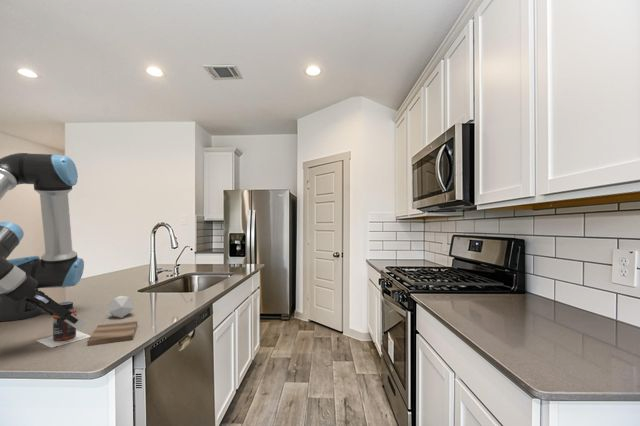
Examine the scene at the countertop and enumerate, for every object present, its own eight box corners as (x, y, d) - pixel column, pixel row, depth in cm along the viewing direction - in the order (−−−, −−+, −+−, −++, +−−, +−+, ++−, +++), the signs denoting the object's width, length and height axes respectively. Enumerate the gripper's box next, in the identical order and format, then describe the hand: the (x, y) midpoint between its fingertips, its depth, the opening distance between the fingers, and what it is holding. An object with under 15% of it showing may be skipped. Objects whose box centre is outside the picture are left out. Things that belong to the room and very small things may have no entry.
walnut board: (98, 329, 113) (98, 325, 113) (137, 325, 118) (137, 320, 118) (87, 345, 99) (87, 340, 99) (132, 339, 104) (132, 335, 104)
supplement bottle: (79, 334, 108) (80, 300, 108) (70, 340, 102) (71, 304, 102) (59, 335, 107) (60, 301, 107) (48, 342, 101) (49, 305, 101)
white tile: (36, 340, 102) (36, 340, 102) (76, 330, 112) (76, 330, 112) (51, 347, 97) (51, 347, 97) (92, 336, 106) (92, 336, 106)
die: (138, 316, 131) (136, 294, 136) (125, 311, 123) (123, 288, 128) (117, 324, 130) (116, 302, 135) (103, 319, 122) (103, 296, 127)
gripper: (-10, 291, 96) (55, 330, 110) (14, 299, 87) (82, 341, 101) (14, 270, 101) (73, 311, 115) (40, 276, 91) (101, 319, 105)
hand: (77, 325), depth 108 cm, fingers closed on supplement bottle, 6 cm apart
